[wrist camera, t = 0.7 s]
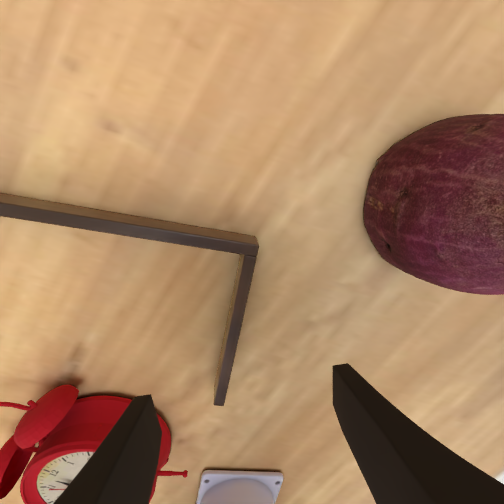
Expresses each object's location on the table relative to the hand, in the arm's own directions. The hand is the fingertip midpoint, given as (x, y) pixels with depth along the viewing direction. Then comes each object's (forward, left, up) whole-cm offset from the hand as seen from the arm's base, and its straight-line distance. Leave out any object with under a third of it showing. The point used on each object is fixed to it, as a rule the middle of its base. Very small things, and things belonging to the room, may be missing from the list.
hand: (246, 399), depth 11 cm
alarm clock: (-15, +10, -10) cm, 21 cm away
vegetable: (+9, -12, -10) cm, 18 cm away
